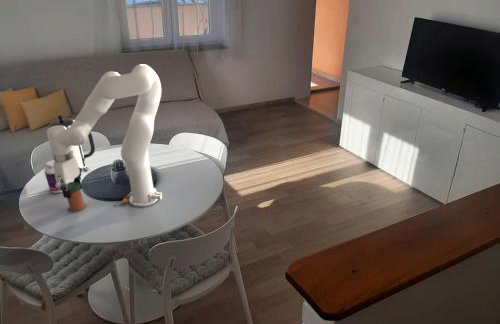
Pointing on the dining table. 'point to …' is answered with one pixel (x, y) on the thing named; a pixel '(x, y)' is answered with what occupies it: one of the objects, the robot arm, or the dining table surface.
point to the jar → (76, 201)
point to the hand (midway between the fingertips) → (73, 192)
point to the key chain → (126, 197)
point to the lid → (73, 186)
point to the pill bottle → (51, 177)
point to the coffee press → (76, 149)
